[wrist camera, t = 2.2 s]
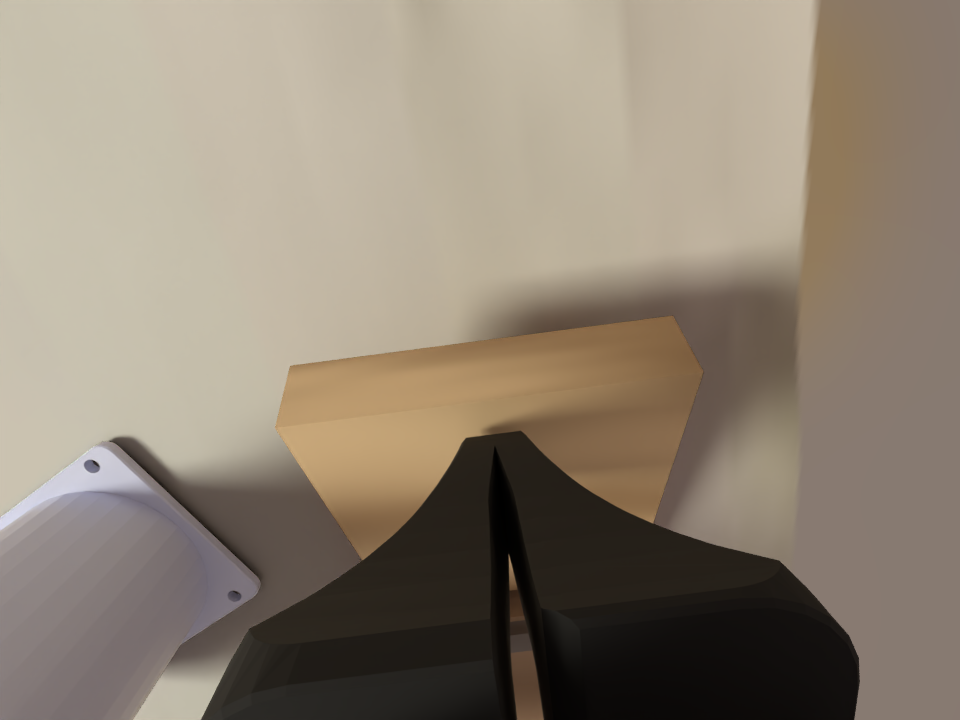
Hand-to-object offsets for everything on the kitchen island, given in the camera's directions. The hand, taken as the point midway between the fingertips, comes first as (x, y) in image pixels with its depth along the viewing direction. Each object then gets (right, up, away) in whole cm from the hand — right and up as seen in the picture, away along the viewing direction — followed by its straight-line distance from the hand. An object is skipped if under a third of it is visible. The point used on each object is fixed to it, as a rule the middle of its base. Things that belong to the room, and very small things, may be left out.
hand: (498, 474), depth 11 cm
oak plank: (0, -1, +5) cm, 5 cm away
